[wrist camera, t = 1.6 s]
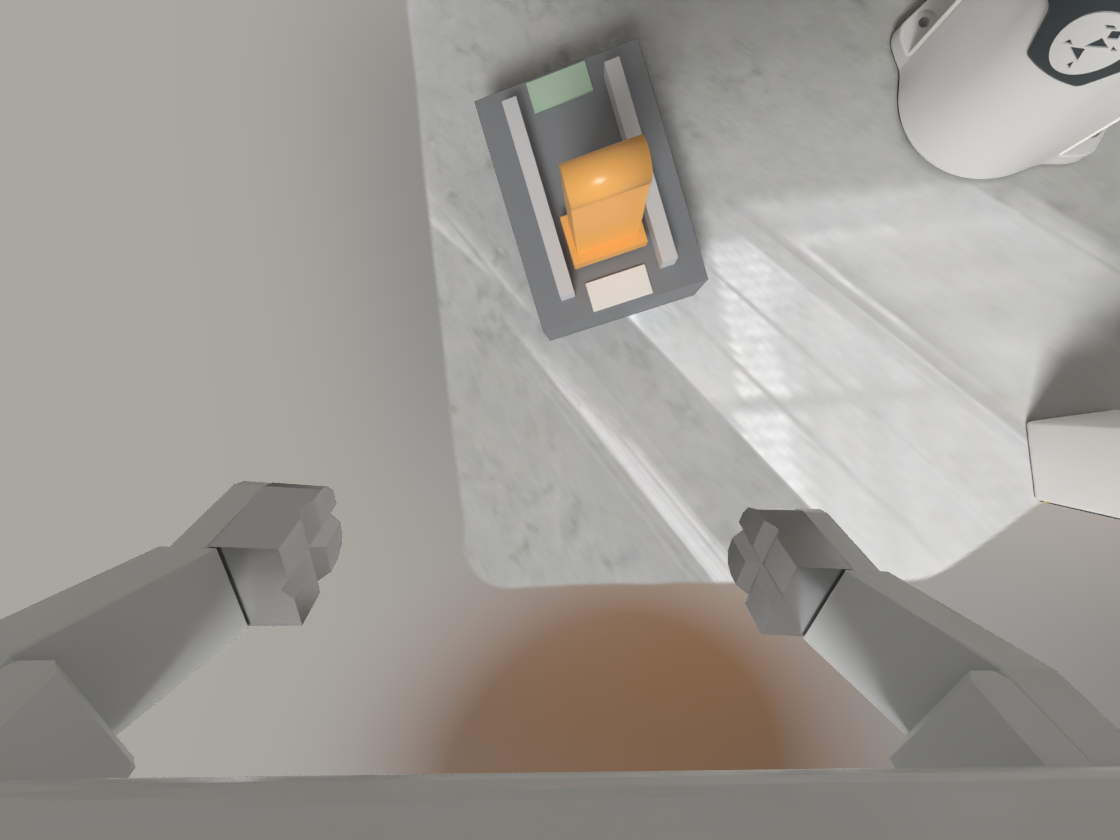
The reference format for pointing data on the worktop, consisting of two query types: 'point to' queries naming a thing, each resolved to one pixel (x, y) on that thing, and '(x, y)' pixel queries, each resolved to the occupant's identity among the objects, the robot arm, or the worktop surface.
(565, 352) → the worktop surface
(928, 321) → the worktop surface
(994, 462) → the worktop surface
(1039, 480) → the medicine bottle
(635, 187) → the handle
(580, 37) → the worktop surface
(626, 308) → the breaker box
